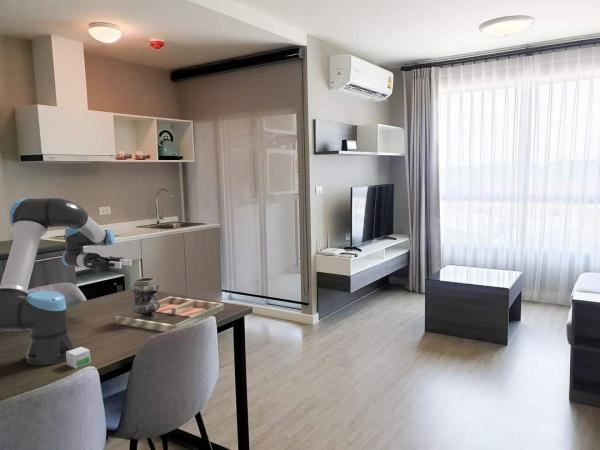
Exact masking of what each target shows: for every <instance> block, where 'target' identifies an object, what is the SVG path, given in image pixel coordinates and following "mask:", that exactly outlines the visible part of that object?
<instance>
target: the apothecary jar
mask: <svg viewBox="0 0 600 450" xmlns="http://www.w3.org/2000/svg"><path fill="white" fill-rule="evenodd" d="M159 288H160V286H159V283H157V282H156V279H155V277H150V276H149V277H148V276H147V277H138V278H137V279H134V284H132V285H131V288H130V289H131V293H133V294H134V303H133V304H132V306H131V309H132V311H133V312H134V313H136V314H139V315H138V316H137V317H136V318H135V319H140V320H146V321H152V322H154V321H156V320H158V319H159V315H158V314H156V312H155V311H157V310H158V309H159V308H160V302H159V300H158V290H159Z"/></svg>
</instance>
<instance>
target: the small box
mask: <svg viewBox="0 0 600 450" xmlns="http://www.w3.org/2000/svg"><path fill="white" fill-rule="evenodd" d="M66 359H67V360H66V365H67V366H69V367H71V368H74V369H77V368H80V367H83V366H85V365H88V364H91V350H90V349H88V348H86V347H83V346H78V347H76V348H75V349H73V350H70V351H67V352H66Z"/></svg>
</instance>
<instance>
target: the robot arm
mask: <svg viewBox="0 0 600 450" xmlns="http://www.w3.org/2000/svg"><path fill="white" fill-rule="evenodd" d="M9 222H10V225H11V226H12V228H13V230H14V231H15V233H14V238H13V240H12V244H11V248H10V251H9V255H8V258H7V261H6V266H5V269H4V271H3V272H4V273H3V275H2V278H1V282H0V333H3V332H16V331H17V332H18V331H19V332H20V331H21V332H22V331H29V332H30V333H29V334H30V341H29V346H28V348H27V353H26V362H27V364H29V365H32V366H50V365H53V364H54V365H55V364H59V363H62V362H64V361H67V359H66V352H67V351H70V350H73V349H76V348H75V345H74V343H73V341H72V339H71V337H70V335H69V330H68V318H67V317H68V316H67V303H66V297H65V296H64V294H62V293H61V292H58V291H53V290H36V291H37V292H32V293H30V294H29V293H28V292H29V291H28V289H29V285H30V280H31V277H32V273H33V269H34V265H35V261H36V257H37V254H38V249H39V246H40V242H41V239H42V237H43V236H45V235H47V232H48V229H49V228H60V227H61V228H63V227H64V228H65V227H66V228H65V230H64V239H65V251H64V252H63V253H62V257H61V262H62V264H63V265H65V266H67V267H70V268H83V269H85V270H87V269H89V270H90V269H91V270H95V269H105V268H106V270H109V269H110V268H111V269H122V266H130V267H132V264H133V263H132V259H125V258H124V257H122V256H120V257H117V256H108V257H106V256H101V255H100V254H99V253H96V252H89V251H84V247H98V246H99V247H100V246H101V247H102V246H105V247H106V246H112V245H114V244H115V240H116V239H115V238H116V235H115V232H114V230H113V229H104V228H103V227H102V226H100V225H99V223H97V222H96V221H95V220H94V219H93V218H91V217H90V216H89V214H88V211H87V210H86V209H85V208H84V207H82V206H81V205H79V204H78V203H76V202H74V201H72V200H68V199H66V198H61V197H45V198H44V197H43V198H41V197H40V198H31V197H27V198H21V199H17V200H16V201H14V202H13V204H12V205H11V207H10V210H9Z"/></svg>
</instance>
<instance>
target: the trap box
mask: <svg viewBox="0 0 600 450" xmlns="http://www.w3.org/2000/svg"><path fill="white" fill-rule="evenodd" d="M158 301H159V302H160V308H159V309H158V310H157V311H155V312H154V313H159V314H166V315H174V316H179V317H187V319H184V320H182V321H180V322H179V321H178V322H177V323H175V324H170V323H164V322H159V321H158V322H157V321H146V320H140V319H136V318H135V317H134V318H133V317H129V316H122V315H116V316H115V324H117V325H124V326H130V327H135V328H142V329H148V330H153V331H157V332H163V331H167V330H172V329H176V328H179V327H182V326H185V325H188V324H192V323H194V322H197V321H199V320H201V319H204V318H206V317H208V318H210V317H212V316H214V315H216V314H218V313H220V312H223V311H224V310H225V309H224V308H225V306H224V303H222V302H215V301H214V302H213V301H206V300H199V299H192V298H182V297H178V296H177V297H176V296H175V297H174V296H167V297H165V298H162V299H160V300H158ZM219 311H220V312H219ZM209 316H210V317H209ZM206 319H207V318H206ZM204 320H205V319H204ZM197 323H198V322H197Z"/></svg>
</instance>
